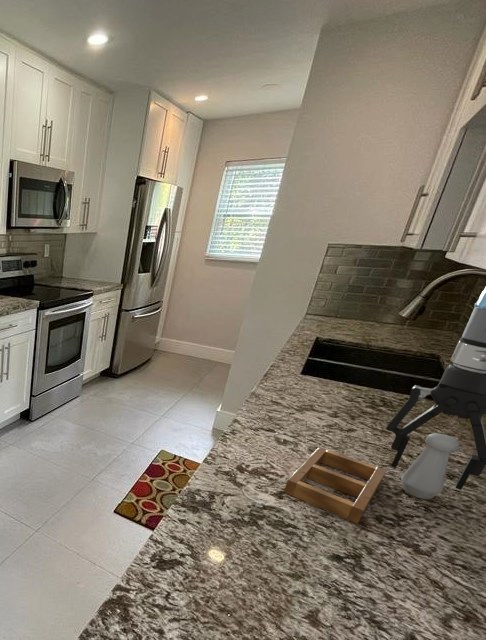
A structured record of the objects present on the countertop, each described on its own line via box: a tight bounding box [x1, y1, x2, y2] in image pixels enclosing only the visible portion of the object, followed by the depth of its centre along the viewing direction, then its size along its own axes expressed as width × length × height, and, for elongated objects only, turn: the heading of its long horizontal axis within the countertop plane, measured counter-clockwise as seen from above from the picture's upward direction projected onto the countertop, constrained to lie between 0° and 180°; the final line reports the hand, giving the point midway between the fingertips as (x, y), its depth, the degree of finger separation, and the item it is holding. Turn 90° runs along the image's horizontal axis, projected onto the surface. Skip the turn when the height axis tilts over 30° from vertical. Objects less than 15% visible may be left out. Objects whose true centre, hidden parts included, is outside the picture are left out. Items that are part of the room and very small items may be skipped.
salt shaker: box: [400, 433, 460, 500], centre depth 81 cm, size 6×6×13 cm
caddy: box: [283, 446, 387, 525], centre depth 84 cm, size 12×22×3 cm, turn 129°
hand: (425, 475), depth 82 cm, fingers open, 8 cm apart
